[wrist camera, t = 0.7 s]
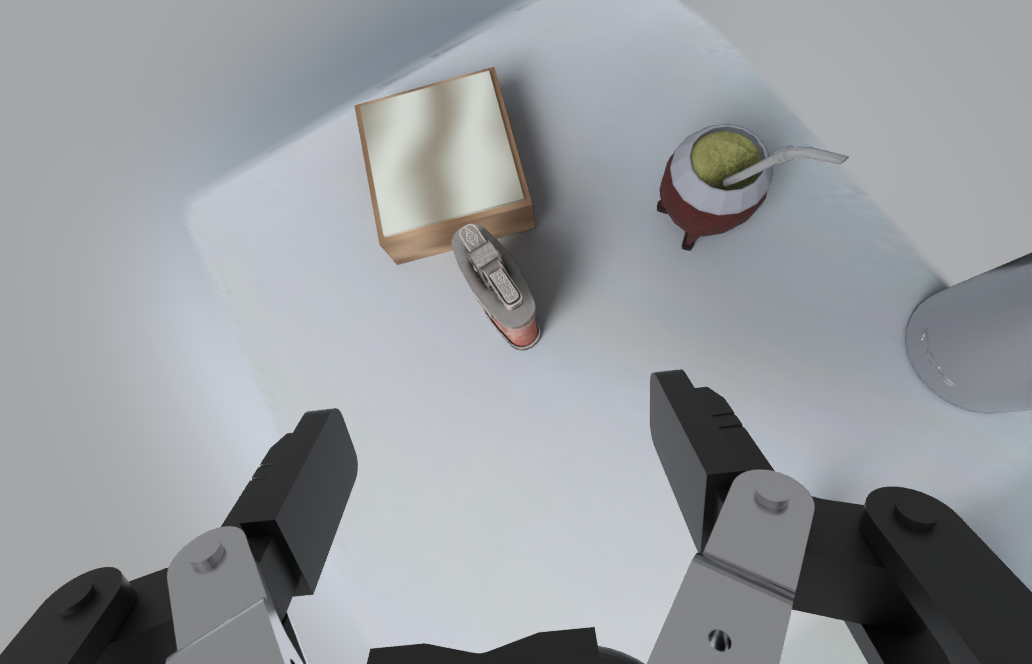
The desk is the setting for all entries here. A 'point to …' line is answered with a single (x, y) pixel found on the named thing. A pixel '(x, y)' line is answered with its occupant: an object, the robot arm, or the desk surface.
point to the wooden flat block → (442, 165)
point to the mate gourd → (722, 179)
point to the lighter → (497, 285)
